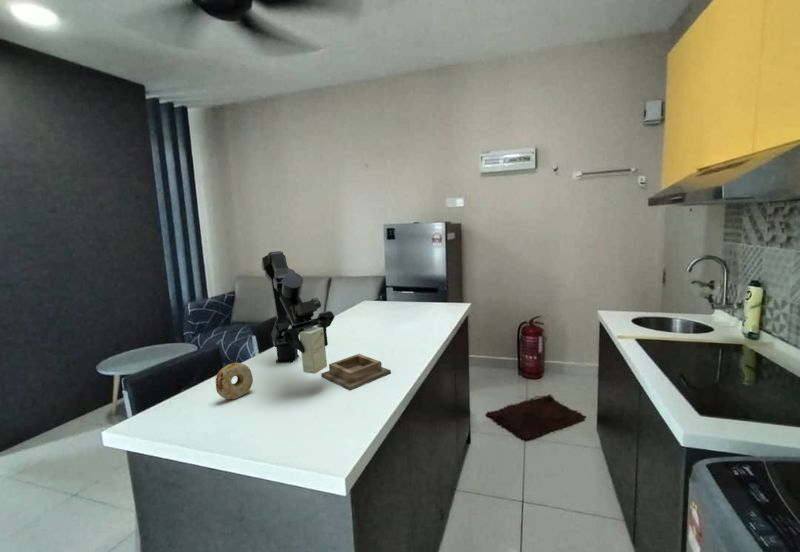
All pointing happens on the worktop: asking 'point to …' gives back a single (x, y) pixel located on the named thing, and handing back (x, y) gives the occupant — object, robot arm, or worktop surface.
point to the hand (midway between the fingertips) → (315, 348)
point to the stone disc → (237, 389)
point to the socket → (355, 371)
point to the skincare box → (313, 350)
